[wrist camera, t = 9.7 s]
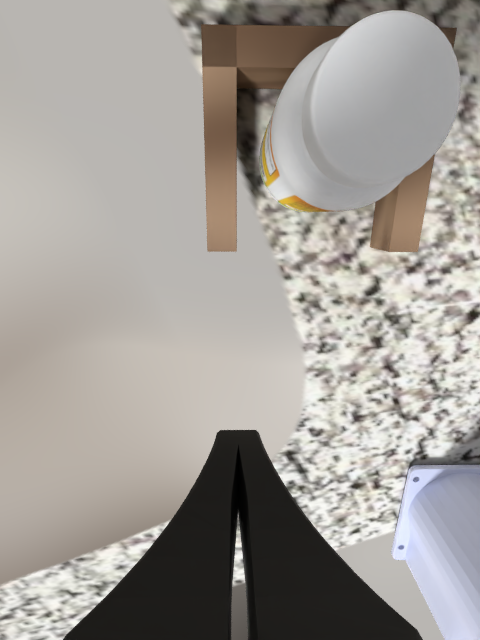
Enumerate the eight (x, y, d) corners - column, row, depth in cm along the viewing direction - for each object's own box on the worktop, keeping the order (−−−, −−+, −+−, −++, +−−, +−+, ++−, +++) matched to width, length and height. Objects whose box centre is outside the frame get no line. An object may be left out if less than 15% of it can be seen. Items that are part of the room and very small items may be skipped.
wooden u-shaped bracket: (394, 247, 19) (417, 251, 17) (210, 246, 19) (207, 251, 17) (424, 55, 16) (456, 28, 14) (206, 52, 16) (201, 24, 14)
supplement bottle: (375, 166, 18) (527, 114, 9) (298, 232, 19) (359, 249, 10) (317, 78, 16) (423, -95, 7) (238, 155, 17) (242, 88, 8)
